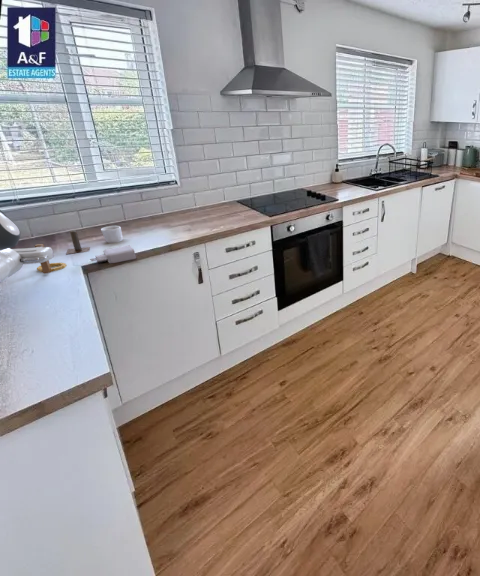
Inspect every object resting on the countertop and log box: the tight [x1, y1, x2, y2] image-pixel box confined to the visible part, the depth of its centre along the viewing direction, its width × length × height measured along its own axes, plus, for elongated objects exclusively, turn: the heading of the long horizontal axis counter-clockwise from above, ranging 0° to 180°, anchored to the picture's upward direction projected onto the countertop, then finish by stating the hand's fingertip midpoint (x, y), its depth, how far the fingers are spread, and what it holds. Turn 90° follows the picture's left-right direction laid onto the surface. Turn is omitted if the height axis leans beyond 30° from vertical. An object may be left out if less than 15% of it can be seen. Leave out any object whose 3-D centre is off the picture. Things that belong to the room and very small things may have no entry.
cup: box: [100, 225, 124, 244], centre depth 178 cm, size 11×8×8 cm
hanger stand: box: [65, 229, 91, 256], centre depth 163 cm, size 8×8×10 cm
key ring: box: [34, 243, 67, 274], centre depth 142 cm, size 10×8×11 cm
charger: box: [89, 244, 137, 264], centre depth 154 cm, size 5×9×15 cm
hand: (23, 250), depth 126 cm, fingers open, 8 cm apart
